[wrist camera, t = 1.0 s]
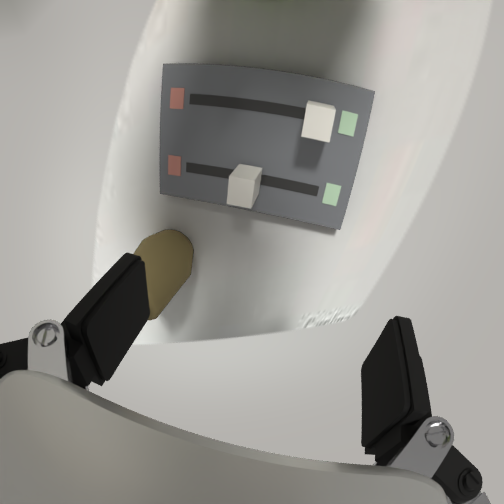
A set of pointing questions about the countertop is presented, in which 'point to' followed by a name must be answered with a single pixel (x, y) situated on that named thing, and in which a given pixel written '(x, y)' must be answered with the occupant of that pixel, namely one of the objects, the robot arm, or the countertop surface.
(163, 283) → the squeeze bottle
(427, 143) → the countertop surface
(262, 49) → the countertop surface
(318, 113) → the block
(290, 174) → the slider switch panel
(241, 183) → the block
